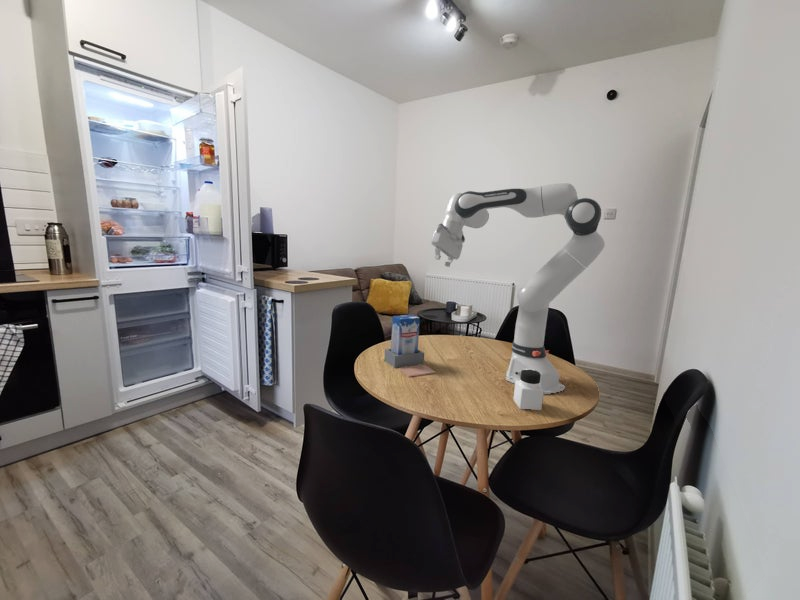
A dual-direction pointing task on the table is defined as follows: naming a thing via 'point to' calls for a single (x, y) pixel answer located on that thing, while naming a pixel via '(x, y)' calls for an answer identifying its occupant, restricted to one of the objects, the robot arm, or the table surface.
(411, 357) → the carton holder
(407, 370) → the terracotta tile
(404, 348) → the milk carton
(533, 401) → the medicine bottle
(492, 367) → the table surface
